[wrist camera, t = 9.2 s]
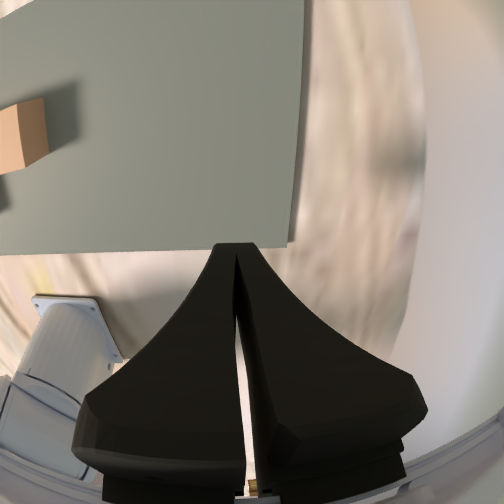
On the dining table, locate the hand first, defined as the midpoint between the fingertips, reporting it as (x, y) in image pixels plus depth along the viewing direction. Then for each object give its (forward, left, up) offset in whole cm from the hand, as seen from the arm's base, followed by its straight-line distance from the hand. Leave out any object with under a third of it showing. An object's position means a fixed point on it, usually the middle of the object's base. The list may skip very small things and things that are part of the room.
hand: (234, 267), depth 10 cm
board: (+5, +13, -9) cm, 17 cm away
